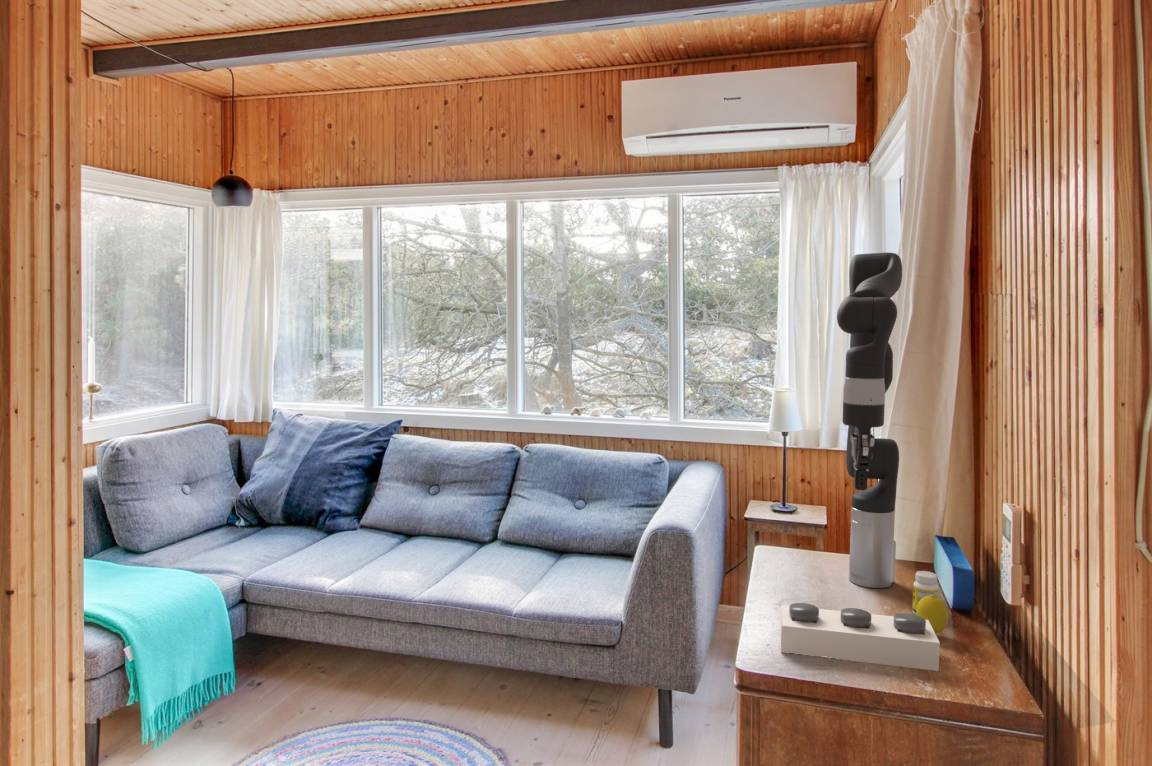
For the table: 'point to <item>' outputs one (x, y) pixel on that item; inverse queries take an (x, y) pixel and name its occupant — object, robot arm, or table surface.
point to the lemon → (933, 612)
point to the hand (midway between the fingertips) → (860, 488)
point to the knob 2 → (909, 623)
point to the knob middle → (855, 618)
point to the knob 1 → (804, 612)
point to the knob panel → (860, 641)
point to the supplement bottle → (924, 587)
